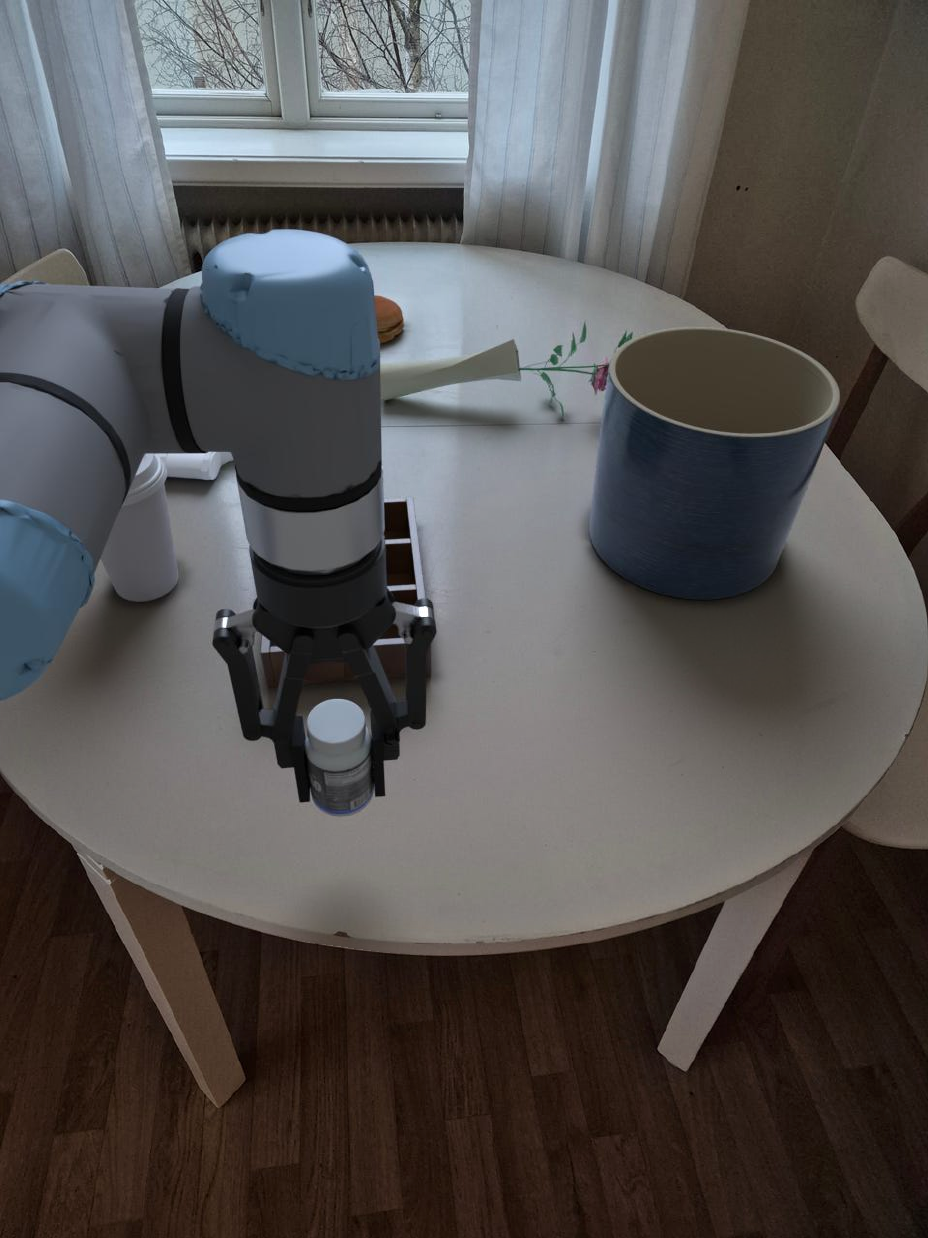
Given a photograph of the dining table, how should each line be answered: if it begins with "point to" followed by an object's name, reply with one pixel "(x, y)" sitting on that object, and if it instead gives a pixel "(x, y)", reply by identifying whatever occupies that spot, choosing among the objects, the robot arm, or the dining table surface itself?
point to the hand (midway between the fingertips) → (342, 783)
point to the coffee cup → (143, 538)
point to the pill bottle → (339, 758)
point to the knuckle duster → (195, 464)
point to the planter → (705, 458)
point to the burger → (388, 318)
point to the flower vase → (479, 370)
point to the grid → (400, 582)
